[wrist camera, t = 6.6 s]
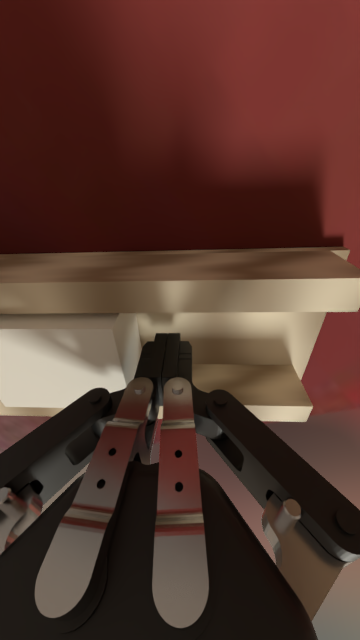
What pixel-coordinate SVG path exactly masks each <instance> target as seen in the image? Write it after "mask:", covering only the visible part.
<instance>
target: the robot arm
mask: <svg viewBox="0 0 360 640" xmlns="http://www.w3.org/2000/svg"><path fill="white" fill-rule="evenodd" d="M160 406H163V421H162V424H161V432H160V454H159V463H155V464H151V465H150V458H151V451H152V446H153V442H154V437H155V433H156V428H157V423H158V414H159V407H160ZM196 433H198V434H200V435H203V436H205V437H206V439H207V441H208V442H209V443H210V445H211V446H212V447H213V448H214V449H215V451H216V452H217V453H218V454H219V455H220V457H221V458H222V459H223V460H224V462H225V463H226V464H227V465H228V466H229V468H230V469H231V470H232V471H233V472H234V474H235V475H236V476H237V477H238V478H239V480H240V481H241V482H242V483H243V485H244V486H245V487H246V488H247V489H248V491H249V492H250V493H251V494H252V495H253V497H254V498H255V499H256V500H257V501H258V503H259V504H260V505H261V506H262V508H263V509H264V511H263V513H262V519H261V521H262V527H263V531H264V534H265V536H266V537H267V539H268V541H269V542H270V544H271V546H272V548H273V551H274V554H275V559H276V565H275V563H274V562H273V560H272V559H271V558H270V556H269V555H268V553H267V552H266V550H265V549H264V548H263V546H262V545H261V543H260V542H259V540H258V539H257V537H256V536H255V535H254V533H253V532H252V530H251V529H250V527H249V526H248V524H247V523H246V522H245V520H244V519H243V518H242V516H241V515H240V513H239V512H238V510H237V509H236V507H235V506H234V504H233V503H232V502H231V500H230V499H229V497H228V496H227V494H226V493H225V492H224V490H223V489H222V487H221V486H220V485H219V483H218V482H217V481H216V480H215V479H214V478H213V477H212V476H210V475H209V474H208V473H206V472H205V471H203V470H201V469H199V467H198V455H197V443H196ZM89 462H90V463H89ZM88 463H89V465H88V467H87V470H86V472H85V473H84V474H82V475H81V476H80V477H79V478H78V479H76V480H75V482H73V483H72V484H71V485H70V486H69V487H68V488H67V489H66V490H65V492H63V493H62V494H61V495H60V496H59V497H58V498H57V499H56V500H55V501H54V502H53V503H52V504H51V505H50V506H49V507H48V508H47V509H46V510H45V511H44V512H43V513H42V514H41V512H42V508H43V505H44V504H45V503H46V502H47V501H48V500H49V499H50V498H51V497H52V496H54V494H56V493H57V492H58V491H59V490H60V489H61V488H62V487H63V486H64V485H65V484H66V483H67V482H69V481H70V480H71V479H72V478H73V477H74V476H75V475H76V474H77V473H78V472H80V470H81V469H83V468H84V467H85V466H86V465H87V464H88ZM358 558H360V510H359V509H358V508H357V507H356V506H354V505H353V504H352V503H351V502H350V501H349V500H348V499H346V497H344V496H343V495H342V494H341V493H340V492H339V491H338V490H337V489H336V488H334V487H333V486H332V485H331V484H330V483H329V482H328V481H327V480H326V479H325V478H323V477H322V476H321V475H320V474H319V473H318V472H317V471H316V470H315V469H313V468H312V467H311V466H310V465H309V464H308V463H307V462H306V461H305V460H304V459H302V458H301V457H300V456H299V455H298V454H297V453H296V452H295V451H294V450H292V449H291V448H290V447H289V446H288V445H287V444H286V443H285V442H284V441H283V440H281V439H280V438H279V437H278V436H277V435H276V434H275V433H274V432H273V431H271V430H270V429H269V428H268V427H267V426H266V425H265V424H264V423H263V422H262V421H260V420H259V419H258V418H257V417H256V416H255V415H254V414H253V413H252V412H250V411H249V410H248V409H247V408H246V407H245V406H244V405H243V404H242V403H240V402H239V401H238V400H237V399H236V398H235V397H234V396H233V395H232V394H230V393H229V392H227V391H225V390H221V389H217V390H213V391H211V392H210V393H207V392H203V391H201V390H199V389H197V388H196V387H195V386H194V385H193V383H192V346H191V344H190V343H189V341H181V335H180V333H156V335H155V339H154V341H147V343H146V344H145V345H144V346H143V347H142V351H141V355H140V358H139V362H138V365H137V369H136V373H135V376H134V379H133V380H131V381H130V382H129V383H128V385H127V386H126V388H125V389H122V390H119V391H116V392H112V393H109V391H108V390H107V389H105V388H94V389H92V390H90V391H88V392H87V393H85V394H84V395H83V396H81V397H80V398H78V399H77V400H76V401H74V402H73V403H71V404H70V405H69V406H67V407H66V408H64V409H63V410H61V411H60V412H59V413H57V414H56V415H54V416H53V417H52V418H50V419H49V420H47V421H46V422H45V423H43V424H42V425H40V426H39V427H38V428H36V429H35V430H33V431H32V432H31V433H29V434H28V435H26V436H25V437H24V438H22V439H21V440H19V441H18V442H16V443H15V444H14V445H12V446H11V447H9V448H8V449H7V450H5V451H4V452H2V453H1V454H0V640H318V639H317V636H316V633H315V630H314V627H313V624H312V620H313V618H314V616H315V615H316V613H317V611H318V609H319V608H320V606H321V604H322V603H323V601H324V599H325V597H326V596H327V594H328V592H329V590H330V589H331V587H332V585H333V584H334V582H335V580H336V579H337V577H338V575H339V573H340V572H341V570H342V569H343V568H344V567H346V566H347V565H349V564H350V563H352V562H354V561H355V560H357V559H358Z"/></svg>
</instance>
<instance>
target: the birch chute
mask: <svg viewBox="0 0 360 640" xmlns="http://www.w3.org/2000/svg"><path fill="white" fill-rule="evenodd" d="M349 252H350V250H349V249H347V248H345V247H311V248H266V249H220V250H175V251H130V252H85V253H40V254H0V314H46V313H136V318H137V324H138V330H139V336H140V341H141V347H143V346H144V345H145V344H146V343H147V341H154V339H155V335H156V333H180V335H181V341H189V343H190V344H191V346H192V383H193V385H194V386H195V387H196V388H197V389H199V390H201V391H203V392H207V393H210V392H211V391H213V390H217V389H221V390H225V391H227V392H229V393H230V394H232V395H233V396H234V397H235V398H236V399H237V400H238V401H239V402H240V403H242V404H243V405H244V406H245V407H246V408H247V409H248V410H249V411H250V412H252V413H253V414H254V415H255V416H256V417H257V418H258V419H259V420H260V421H289V422H306V421H307V419H308V416H309V414H310V412H311V410H312V408H313V405H312V403H311V401H310V399H309V397H308V395H307V393H306V391H305V389H304V387H303V385H302V383H301V381H300V380H301V379H302V376H303V373H304V371H305V368H306V365H307V363H308V360H309V357H310V355H311V352H312V350H313V347H314V344H315V342H316V339H317V336H318V334H319V331H320V328H321V326H322V323H323V321H324V318H325V315H326V313H327V312H357V311H358V309H359V307H360V269H358V268H357V267H355V266H354V265H352V264H350V263H349V262H347V261H346V260H347V257H348V254H349ZM63 409H64V408H41V407H5V406H4V404H3V403H2V402H1V400H0V415H16V416H54V415H56V414H57V413H59V412H60V411H61V410H63ZM158 419H163V406H160V407H159V414H158Z"/></svg>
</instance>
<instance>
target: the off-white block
mask: <svg viewBox="0 0 360 640" xmlns="http://www.w3.org/2000/svg"><path fill="white" fill-rule="evenodd" d="M141 351H142V347H141V341H140V336H139V330H138V324H137V318H136V313H46V314H0V400H1V402H2V403H3V404H4V406H5V407H41V408H66V407H67V406H69V405H70V404H71V403H73V402H74V401H76V400H77V399H78V398H80V397H81V396H83V395H84V394H85V393H87V392H88V391H90V390H92V389H94V388H105V389H107V390H108V391H109V393H112V392H116V391H119V390H122V389H125V388H126V386H127V385H128V383H129V382H130V381H131V380H133V379H134V376H135V373H136V369H137V365H138V362H139V358H140V355H141Z"/></svg>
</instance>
